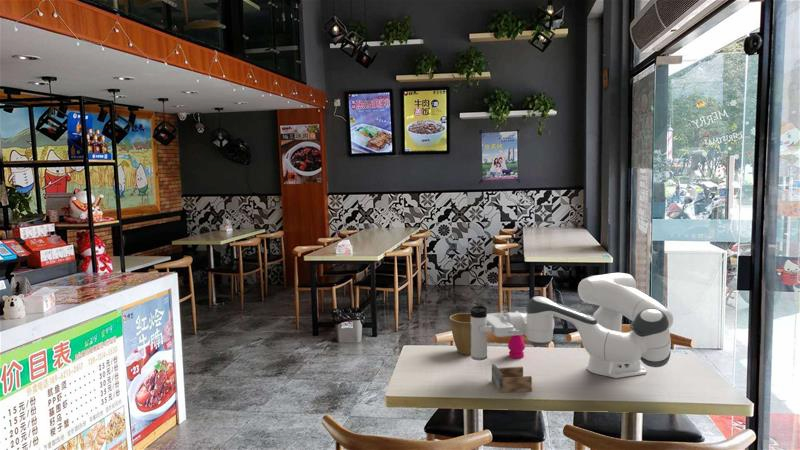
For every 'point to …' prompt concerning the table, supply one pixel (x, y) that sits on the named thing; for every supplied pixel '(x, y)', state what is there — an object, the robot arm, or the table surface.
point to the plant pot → (462, 332)
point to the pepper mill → (516, 346)
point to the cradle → (510, 379)
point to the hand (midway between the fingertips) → (476, 326)
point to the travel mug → (478, 333)
